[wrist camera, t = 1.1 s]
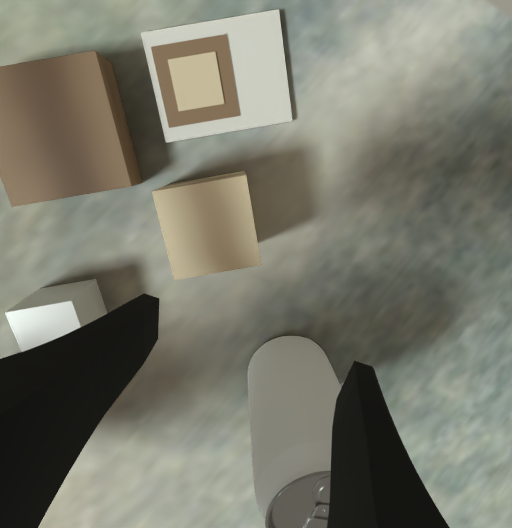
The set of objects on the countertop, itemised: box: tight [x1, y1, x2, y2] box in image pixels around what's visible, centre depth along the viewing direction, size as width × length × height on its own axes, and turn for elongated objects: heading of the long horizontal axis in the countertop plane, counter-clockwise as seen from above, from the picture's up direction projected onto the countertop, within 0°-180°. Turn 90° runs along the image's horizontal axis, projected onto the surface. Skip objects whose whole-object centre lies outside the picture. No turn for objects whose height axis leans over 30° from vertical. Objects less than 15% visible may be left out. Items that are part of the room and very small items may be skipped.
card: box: [141, 9, 292, 143], centre depth 21 cm, size 8×6×1 cm
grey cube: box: [5, 279, 107, 352], centre depth 23 cm, size 4×4×4 cm
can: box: [248, 336, 341, 528], centre depth 22 cm, size 6×6×12 cm
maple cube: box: [152, 171, 261, 280], centre depth 21 cm, size 5×5×5 cm
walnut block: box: [0, 51, 143, 207], centre depth 21 cm, size 7×7×3 cm
